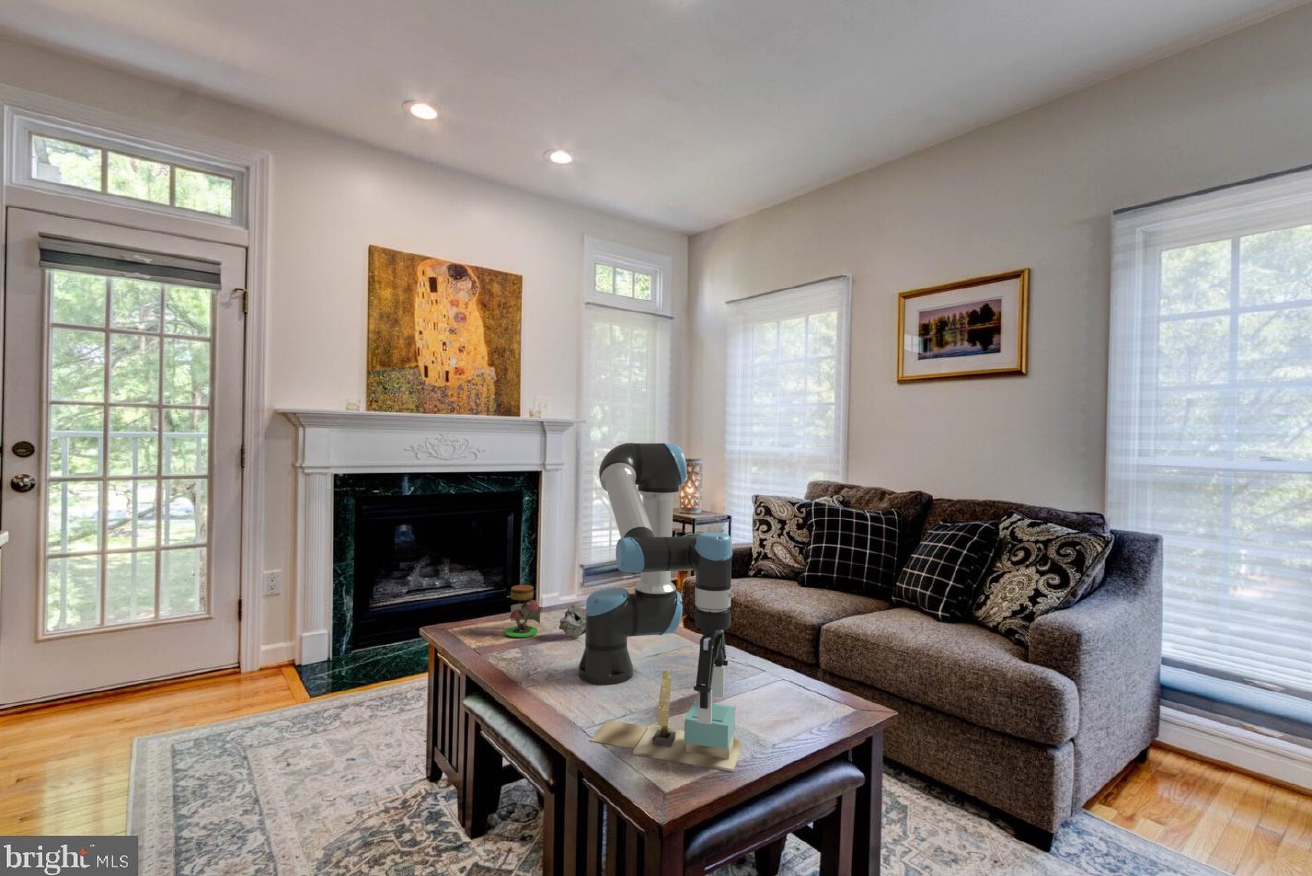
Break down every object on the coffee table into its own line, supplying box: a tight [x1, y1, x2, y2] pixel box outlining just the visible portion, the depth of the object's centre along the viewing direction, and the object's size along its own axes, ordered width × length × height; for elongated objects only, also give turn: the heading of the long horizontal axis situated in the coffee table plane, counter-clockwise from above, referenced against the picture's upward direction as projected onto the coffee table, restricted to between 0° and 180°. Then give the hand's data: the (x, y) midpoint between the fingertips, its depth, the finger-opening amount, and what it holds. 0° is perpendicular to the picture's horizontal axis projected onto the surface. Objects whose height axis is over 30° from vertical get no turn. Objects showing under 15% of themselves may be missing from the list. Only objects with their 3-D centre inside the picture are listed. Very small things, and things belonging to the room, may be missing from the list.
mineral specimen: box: [558, 604, 586, 639], centre depth 198 cm, size 10×8×10 cm
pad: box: [589, 719, 649, 750], centre depth 135 cm, size 10×10×1 cm
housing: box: [632, 724, 743, 772], centre depth 129 cm, size 21×12×4 cm, turn 73°
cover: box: [683, 700, 736, 750], centre depth 128 cm, size 9×9×5 cm
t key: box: [657, 670, 672, 738], centre depth 131 cm, size 20×2×11 cm, turn 177°
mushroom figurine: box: [504, 584, 544, 638], centre depth 202 cm, size 12×13×15 cm
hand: (711, 709), depth 127 cm, fingers open, 13 cm apart
